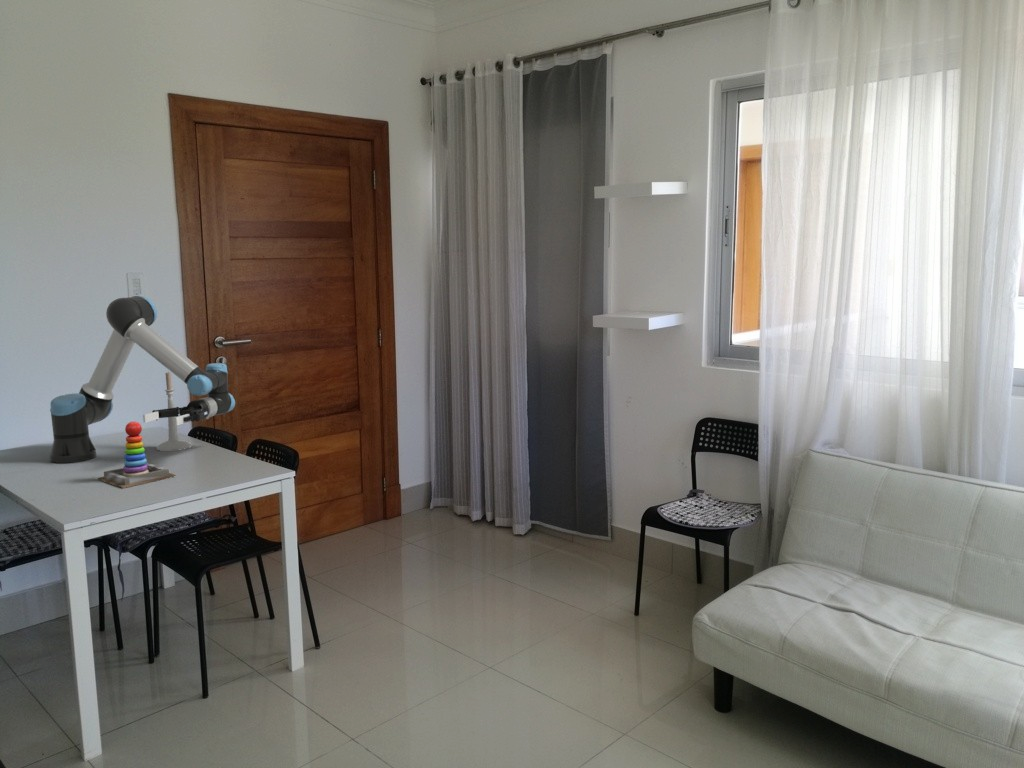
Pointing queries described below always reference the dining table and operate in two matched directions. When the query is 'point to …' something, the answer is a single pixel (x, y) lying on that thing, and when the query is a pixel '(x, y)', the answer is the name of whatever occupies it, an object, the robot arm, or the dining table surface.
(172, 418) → the candlestick
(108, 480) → the plate
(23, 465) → the dining table surface
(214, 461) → the dining table surface
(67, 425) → the robot arm
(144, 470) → the stacking toy
